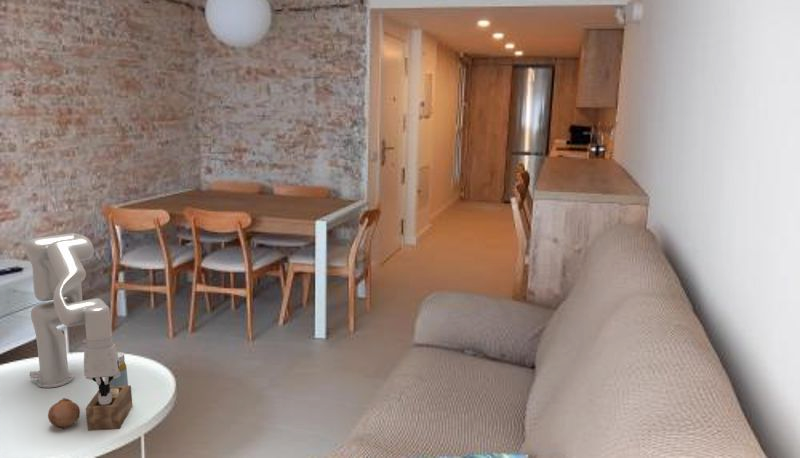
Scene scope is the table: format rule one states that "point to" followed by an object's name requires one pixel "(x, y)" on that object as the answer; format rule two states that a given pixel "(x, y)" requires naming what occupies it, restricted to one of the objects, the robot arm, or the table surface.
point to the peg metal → (105, 399)
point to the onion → (64, 413)
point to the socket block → (109, 410)
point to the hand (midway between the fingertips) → (104, 394)
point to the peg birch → (114, 391)
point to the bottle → (123, 371)
